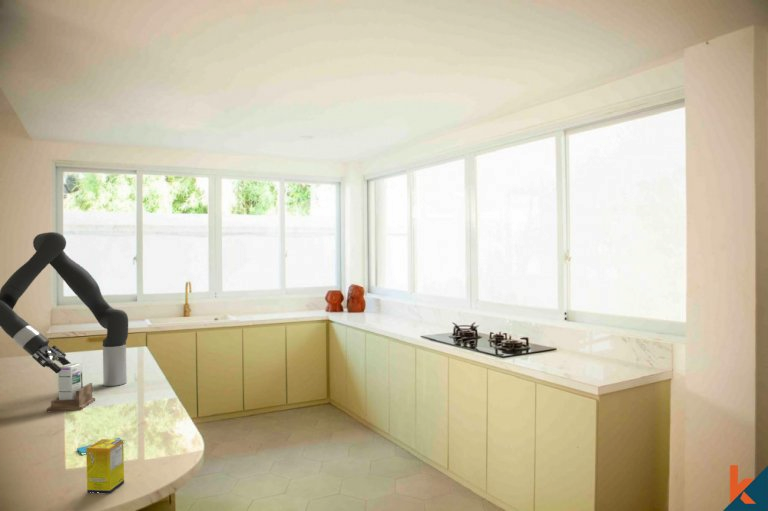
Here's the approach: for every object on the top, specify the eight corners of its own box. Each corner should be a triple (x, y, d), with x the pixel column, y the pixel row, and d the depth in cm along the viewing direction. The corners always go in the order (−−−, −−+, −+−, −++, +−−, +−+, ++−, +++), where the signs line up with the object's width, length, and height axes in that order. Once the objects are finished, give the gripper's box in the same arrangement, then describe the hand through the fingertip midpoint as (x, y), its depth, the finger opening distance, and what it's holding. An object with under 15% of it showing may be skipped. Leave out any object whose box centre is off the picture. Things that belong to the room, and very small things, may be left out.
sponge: (126, 442, 153) (120, 435, 157) (80, 454, 144) (76, 446, 149) (126, 447, 153) (120, 440, 157) (80, 459, 145) (75, 451, 149)
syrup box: (72, 405, 191) (71, 366, 191) (58, 404, 192) (57, 366, 192) (83, 400, 196) (82, 363, 196) (69, 400, 197) (69, 363, 197)
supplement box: (102, 482, 127) (101, 438, 127) (124, 483, 127) (124, 439, 127) (86, 493, 121) (85, 447, 121) (109, 494, 121) (109, 448, 121)
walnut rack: (62, 402, 199) (61, 384, 199) (95, 400, 201) (94, 382, 201) (46, 411, 187) (46, 392, 187) (82, 409, 189) (81, 390, 189)
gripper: (28, 335, 185) (63, 365, 187) (48, 330, 199) (80, 357, 201) (12, 351, 184) (48, 381, 186) (33, 344, 198) (66, 372, 200)
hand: (64, 369), depth 194 cm, fingers open, 8 cm apart
